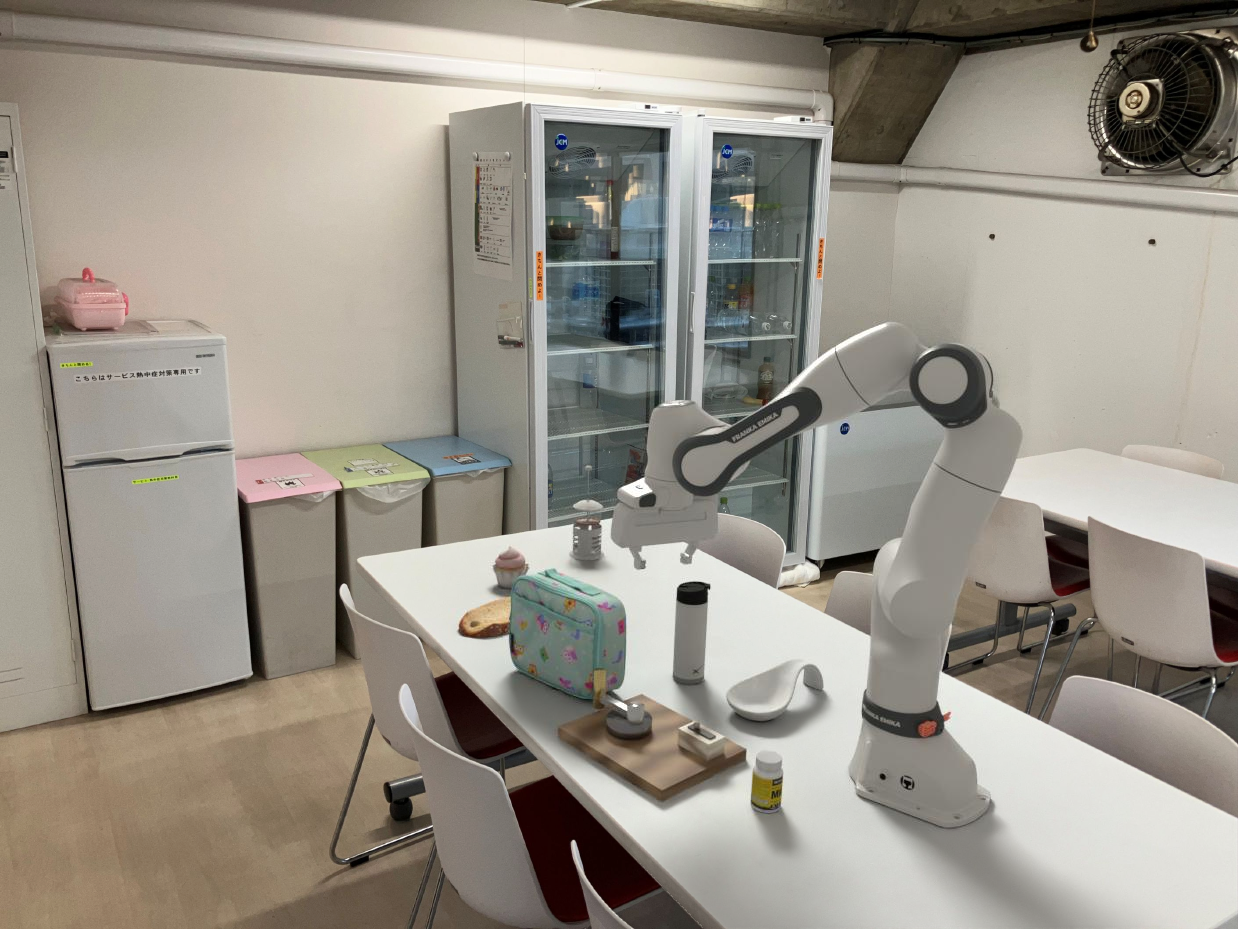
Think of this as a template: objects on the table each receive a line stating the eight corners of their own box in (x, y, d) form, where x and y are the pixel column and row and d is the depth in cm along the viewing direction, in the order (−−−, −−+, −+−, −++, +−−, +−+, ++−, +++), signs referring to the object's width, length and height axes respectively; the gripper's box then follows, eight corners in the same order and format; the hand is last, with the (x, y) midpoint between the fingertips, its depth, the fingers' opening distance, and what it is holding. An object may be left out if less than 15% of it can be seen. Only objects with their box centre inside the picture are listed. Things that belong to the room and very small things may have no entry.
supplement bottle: (773, 817, 151) (777, 768, 149) (745, 807, 154) (748, 758, 152) (785, 803, 155) (789, 754, 153) (758, 793, 157) (761, 745, 156)
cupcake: (509, 575, 253) (509, 538, 250) (536, 583, 247) (537, 545, 245) (483, 585, 245) (483, 546, 243) (511, 594, 240) (512, 554, 238)
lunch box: (498, 666, 200) (498, 566, 195) (536, 652, 208) (537, 555, 203) (592, 711, 183) (595, 603, 178) (630, 694, 190) (633, 589, 185)
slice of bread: (526, 604, 235) (526, 589, 234) (543, 633, 218) (543, 617, 217) (450, 611, 229) (450, 595, 228) (462, 641, 213) (462, 625, 212)
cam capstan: (661, 730, 172) (663, 687, 170) (627, 744, 167) (628, 701, 165) (611, 702, 182) (612, 662, 180) (578, 715, 176) (578, 674, 174)
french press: (565, 558, 267) (566, 468, 261) (574, 545, 278) (575, 459, 272) (601, 561, 265) (603, 471, 259) (608, 548, 276) (611, 461, 271)
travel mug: (703, 686, 194) (708, 590, 189) (670, 683, 195) (674, 587, 190) (707, 673, 200) (712, 579, 195) (675, 669, 201) (679, 576, 196)
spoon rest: (762, 736, 176) (765, 699, 174) (712, 713, 184) (714, 677, 182) (838, 696, 192) (840, 662, 190) (788, 676, 200) (791, 643, 198)
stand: (745, 759, 167) (748, 724, 166) (661, 801, 154) (663, 764, 153) (641, 703, 186) (642, 671, 185) (558, 737, 173) (558, 703, 172)
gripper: (709, 483, 180) (703, 554, 184) (609, 490, 171) (604, 565, 174) (728, 492, 175) (721, 565, 178) (625, 500, 166) (620, 577, 169)
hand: (662, 565), depth 176 cm, fingers open, 8 cm apart
